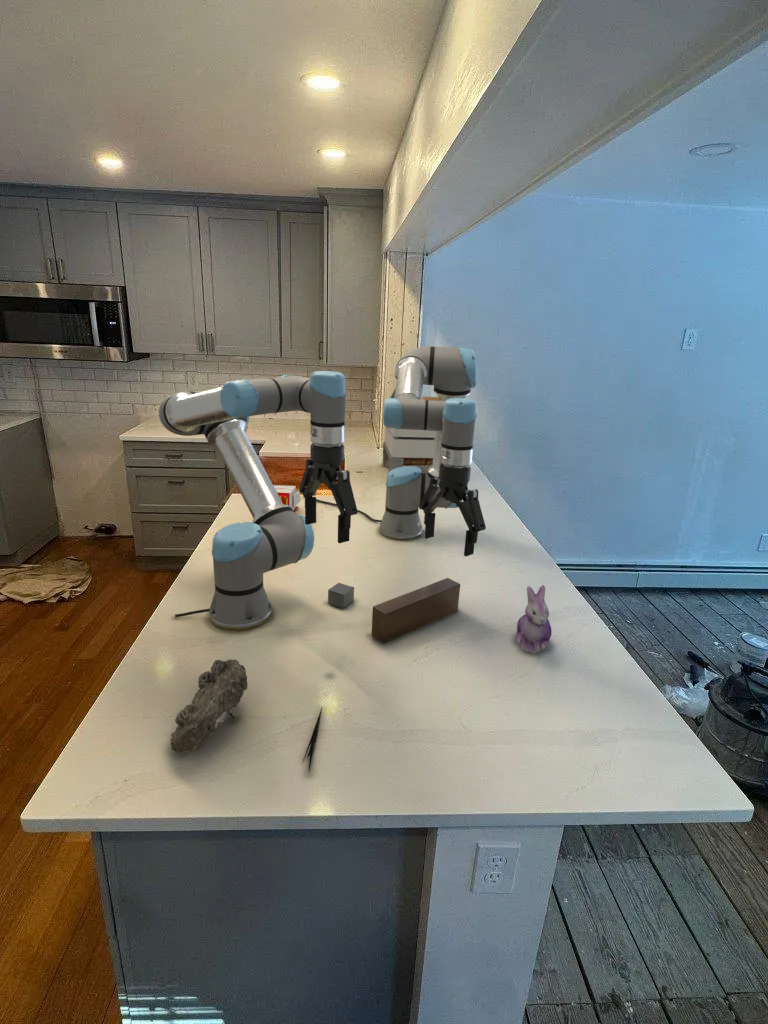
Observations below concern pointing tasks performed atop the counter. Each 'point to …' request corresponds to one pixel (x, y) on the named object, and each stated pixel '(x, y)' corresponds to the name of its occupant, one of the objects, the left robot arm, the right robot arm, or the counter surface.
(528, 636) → the figurine
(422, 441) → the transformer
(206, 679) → the fossil
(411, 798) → the counter surface
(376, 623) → the walnut beam
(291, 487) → the toy
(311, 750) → the feather
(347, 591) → the slate block
